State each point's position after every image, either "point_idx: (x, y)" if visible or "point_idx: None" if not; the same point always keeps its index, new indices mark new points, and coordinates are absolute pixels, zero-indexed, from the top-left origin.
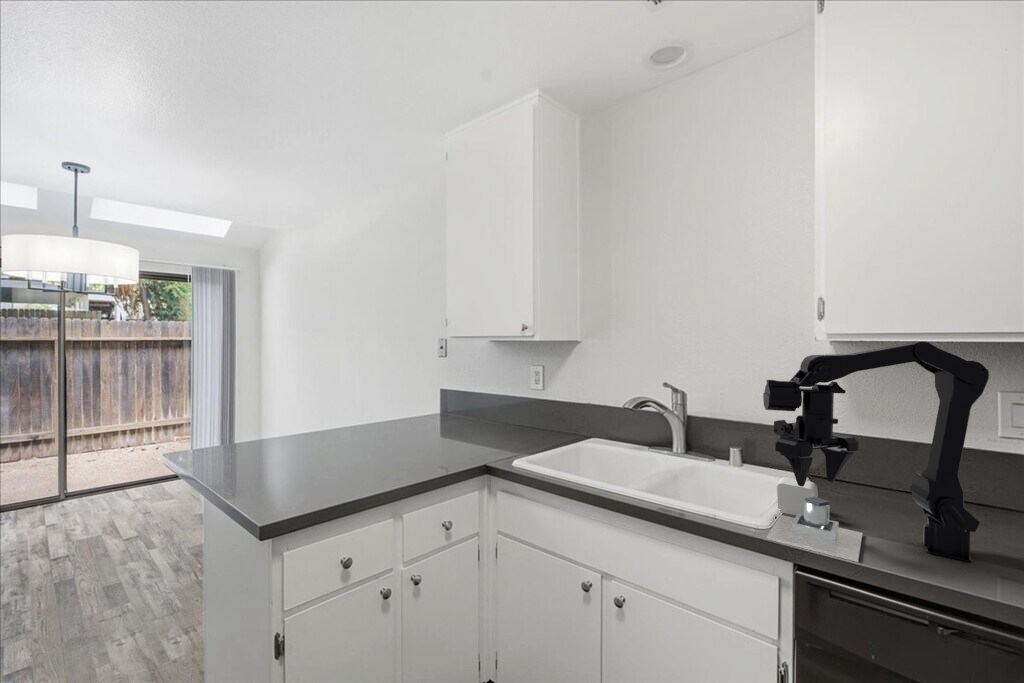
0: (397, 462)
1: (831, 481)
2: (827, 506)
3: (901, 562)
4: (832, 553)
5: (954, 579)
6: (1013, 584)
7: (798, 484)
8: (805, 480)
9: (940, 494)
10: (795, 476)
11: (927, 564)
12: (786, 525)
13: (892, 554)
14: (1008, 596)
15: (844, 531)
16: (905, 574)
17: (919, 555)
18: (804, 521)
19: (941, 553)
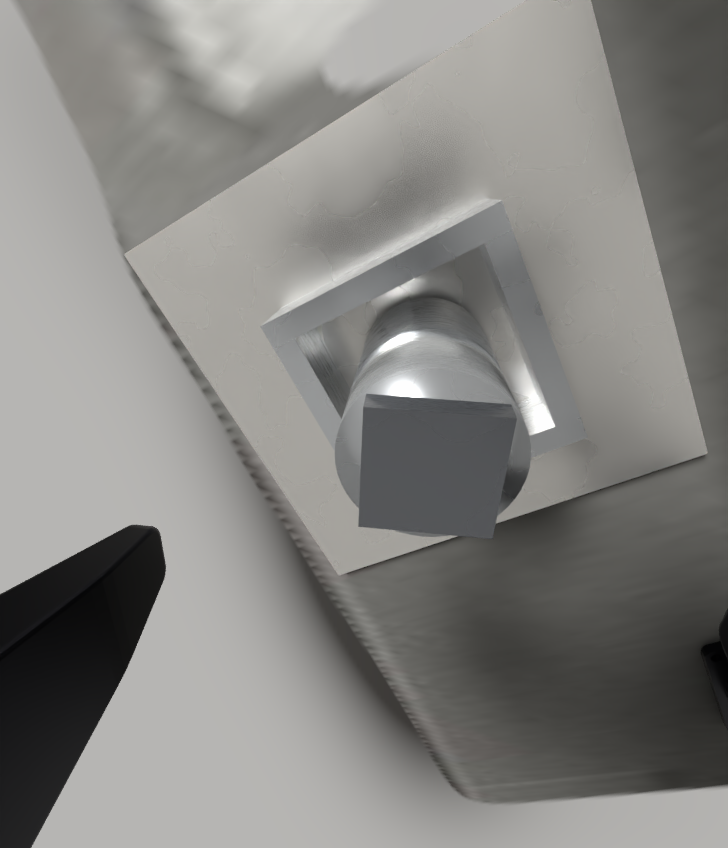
0: None
1: (724, 634)
2: (428, 534)
3: (498, 628)
4: (294, 505)
5: (509, 726)
6: (630, 792)
7: (129, 535)
8: (111, 672)
9: None
10: (10, 599)
11: (568, 668)
12: (394, 179)
13: (554, 590)
14: (519, 795)
15: (637, 402)
16: (401, 661)
17: (644, 634)
18: (370, 343)
19: (715, 681)
